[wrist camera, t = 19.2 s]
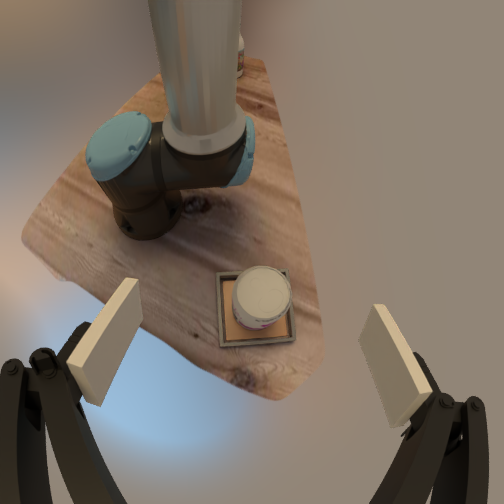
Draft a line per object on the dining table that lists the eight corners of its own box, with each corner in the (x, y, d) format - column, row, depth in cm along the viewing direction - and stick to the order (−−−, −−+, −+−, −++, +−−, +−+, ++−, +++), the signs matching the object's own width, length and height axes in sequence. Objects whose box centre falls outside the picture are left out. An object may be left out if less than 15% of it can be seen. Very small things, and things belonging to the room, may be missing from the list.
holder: (293, 340, 48) (296, 340, 46) (220, 346, 47) (220, 346, 45) (285, 272, 53) (288, 268, 51) (216, 276, 52) (215, 272, 49)
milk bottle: (213, 74, 74) (212, 22, 55) (230, 65, 76) (232, 16, 57) (230, 82, 72) (232, 28, 54) (247, 73, 75) (251, 22, 56)
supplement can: (285, 310, 50) (306, 294, 36) (251, 340, 48) (260, 336, 34) (257, 278, 52) (266, 250, 38) (222, 306, 50) (219, 288, 36)
